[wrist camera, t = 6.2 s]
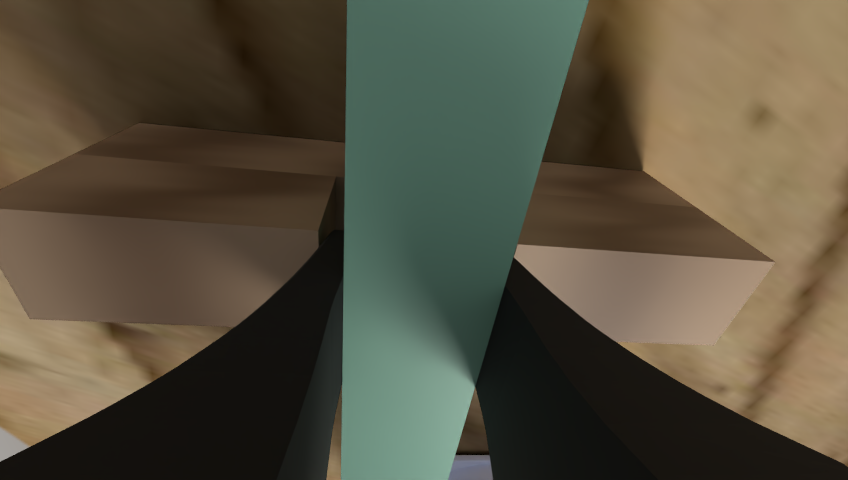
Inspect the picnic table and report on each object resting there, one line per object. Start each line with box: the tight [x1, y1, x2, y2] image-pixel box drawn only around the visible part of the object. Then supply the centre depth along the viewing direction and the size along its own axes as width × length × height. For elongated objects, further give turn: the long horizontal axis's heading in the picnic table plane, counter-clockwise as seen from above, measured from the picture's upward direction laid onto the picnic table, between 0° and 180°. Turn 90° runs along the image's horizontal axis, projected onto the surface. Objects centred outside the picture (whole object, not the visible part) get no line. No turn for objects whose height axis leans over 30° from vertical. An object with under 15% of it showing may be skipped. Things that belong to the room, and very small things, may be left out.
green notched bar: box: [341, 0, 589, 480], centre depth 10 cm, size 14×3×6 cm, turn 173°
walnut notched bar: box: [0, 123, 775, 345], centre depth 12 cm, size 18×3×6 cm, turn 83°
